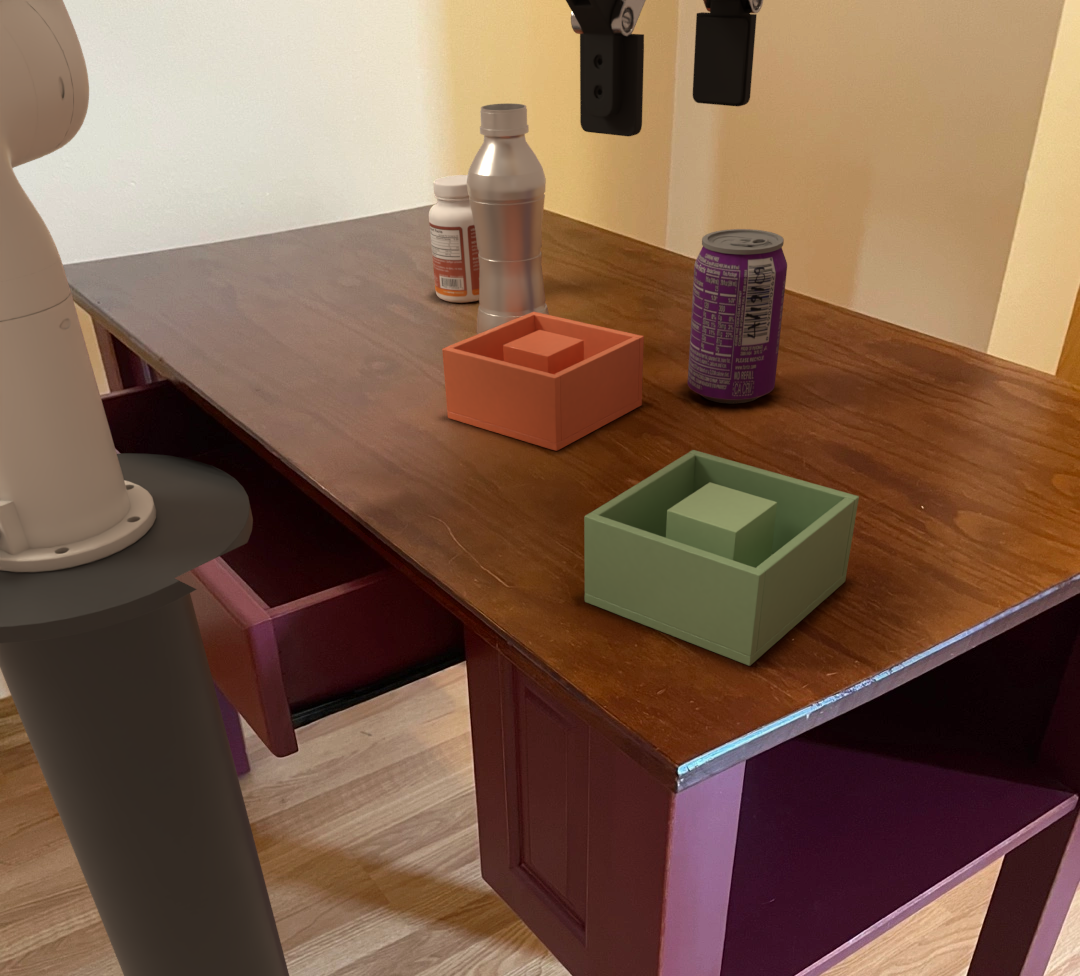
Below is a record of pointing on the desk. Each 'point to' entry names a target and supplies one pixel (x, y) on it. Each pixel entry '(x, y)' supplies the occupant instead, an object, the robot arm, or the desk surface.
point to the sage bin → (717, 558)
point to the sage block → (725, 523)
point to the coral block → (544, 351)
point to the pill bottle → (454, 241)
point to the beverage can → (736, 315)
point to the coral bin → (544, 382)
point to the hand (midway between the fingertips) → (668, 117)
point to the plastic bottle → (507, 218)
